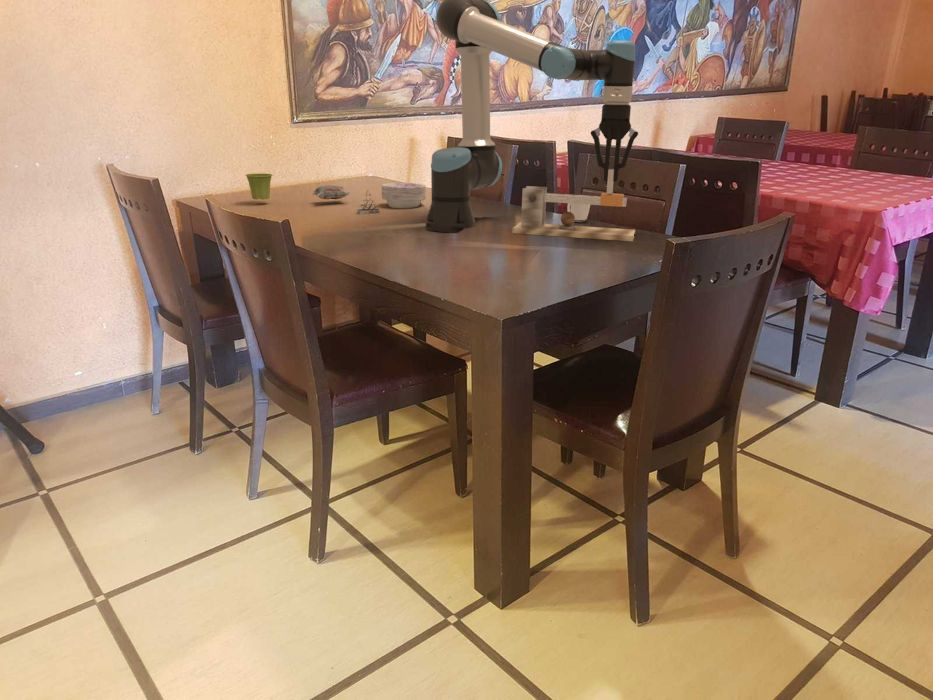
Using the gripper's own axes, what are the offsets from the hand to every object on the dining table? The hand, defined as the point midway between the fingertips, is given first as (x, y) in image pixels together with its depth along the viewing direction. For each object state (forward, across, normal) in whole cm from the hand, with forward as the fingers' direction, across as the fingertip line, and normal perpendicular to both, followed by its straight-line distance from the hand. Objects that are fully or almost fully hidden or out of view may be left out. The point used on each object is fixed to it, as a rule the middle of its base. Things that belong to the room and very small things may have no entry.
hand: (609, 193), depth 193 cm
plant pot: (+11, -128, +28) cm, 132 cm away
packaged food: (+13, -104, +31) cm, 109 cm away
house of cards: (+12, -80, +16) cm, 82 cm away
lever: (+2, -21, 0) cm, 21 cm away
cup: (+12, -11, +22) cm, 27 cm away
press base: (+12, -9, 0) cm, 15 cm away
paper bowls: (+12, -72, +29) cm, 79 cm away
